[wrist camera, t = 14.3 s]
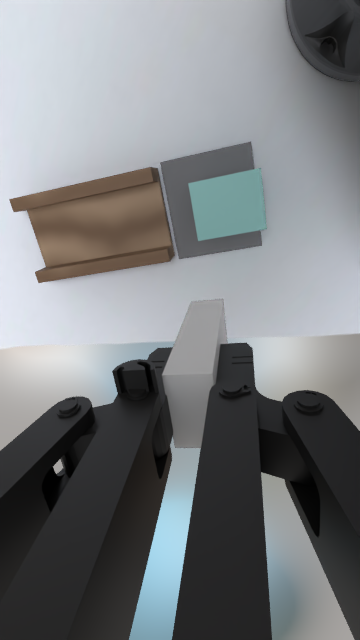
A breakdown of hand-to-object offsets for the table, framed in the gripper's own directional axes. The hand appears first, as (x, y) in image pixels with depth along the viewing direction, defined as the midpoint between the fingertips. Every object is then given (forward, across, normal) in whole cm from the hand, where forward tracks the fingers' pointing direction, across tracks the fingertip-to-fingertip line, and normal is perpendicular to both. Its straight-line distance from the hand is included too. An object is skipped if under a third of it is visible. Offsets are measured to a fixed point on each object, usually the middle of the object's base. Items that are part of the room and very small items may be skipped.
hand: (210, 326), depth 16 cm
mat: (+26, -2, +4) cm, 26 cm away
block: (+26, 0, +4) cm, 26 cm away
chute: (+26, -15, +3) cm, 30 cm away
